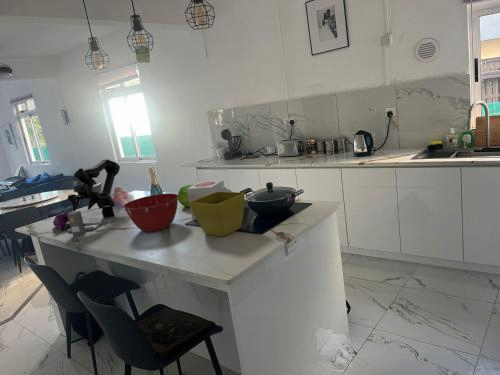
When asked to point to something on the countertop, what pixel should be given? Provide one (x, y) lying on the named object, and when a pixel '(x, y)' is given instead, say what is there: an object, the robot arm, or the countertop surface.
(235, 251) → the countertop surface
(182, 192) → the lettuce
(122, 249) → the countertop surface
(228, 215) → the flower pot
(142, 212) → the mixing bowl
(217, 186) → the pizza boxes
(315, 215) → the countertop surface
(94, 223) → the rail plate
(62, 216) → the mounting bracket
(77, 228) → the block
